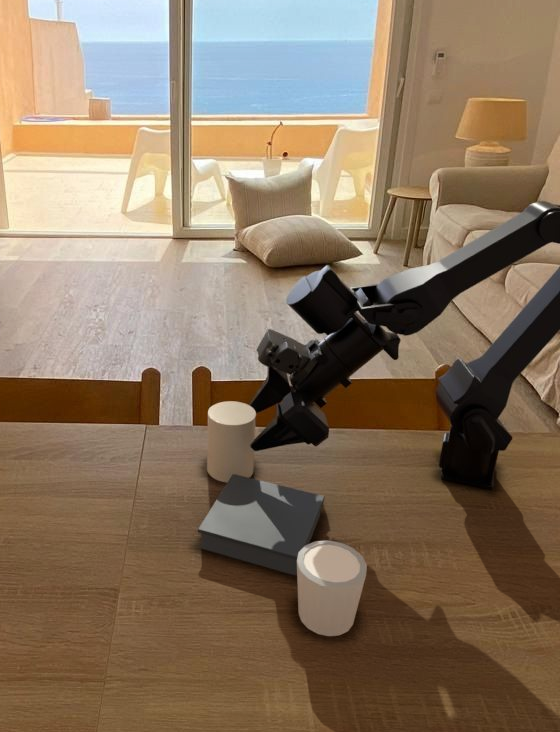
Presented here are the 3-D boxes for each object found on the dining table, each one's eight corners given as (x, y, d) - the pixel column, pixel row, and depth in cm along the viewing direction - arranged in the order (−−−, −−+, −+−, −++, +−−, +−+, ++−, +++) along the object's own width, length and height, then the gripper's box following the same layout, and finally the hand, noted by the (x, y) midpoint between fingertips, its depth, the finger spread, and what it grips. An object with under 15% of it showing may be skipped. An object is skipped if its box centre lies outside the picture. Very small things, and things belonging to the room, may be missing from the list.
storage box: (322, 515, 87) (324, 495, 85) (298, 578, 77) (299, 557, 75) (232, 492, 91) (232, 473, 90) (197, 549, 81) (197, 529, 80)
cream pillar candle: (263, 470, 96) (266, 413, 92) (230, 488, 92) (232, 430, 88) (229, 451, 100) (231, 396, 96) (197, 468, 96) (197, 412, 92)
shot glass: (355, 592, 75) (361, 541, 72) (364, 643, 68) (372, 589, 66) (290, 588, 75) (294, 537, 72) (294, 638, 69) (298, 584, 66)
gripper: (288, 288, 95) (207, 361, 100) (307, 344, 78) (208, 429, 83) (341, 341, 98) (260, 409, 103) (371, 406, 81) (272, 484, 86)
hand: (250, 429), depth 93 cm, fingers open, 9 cm apart
